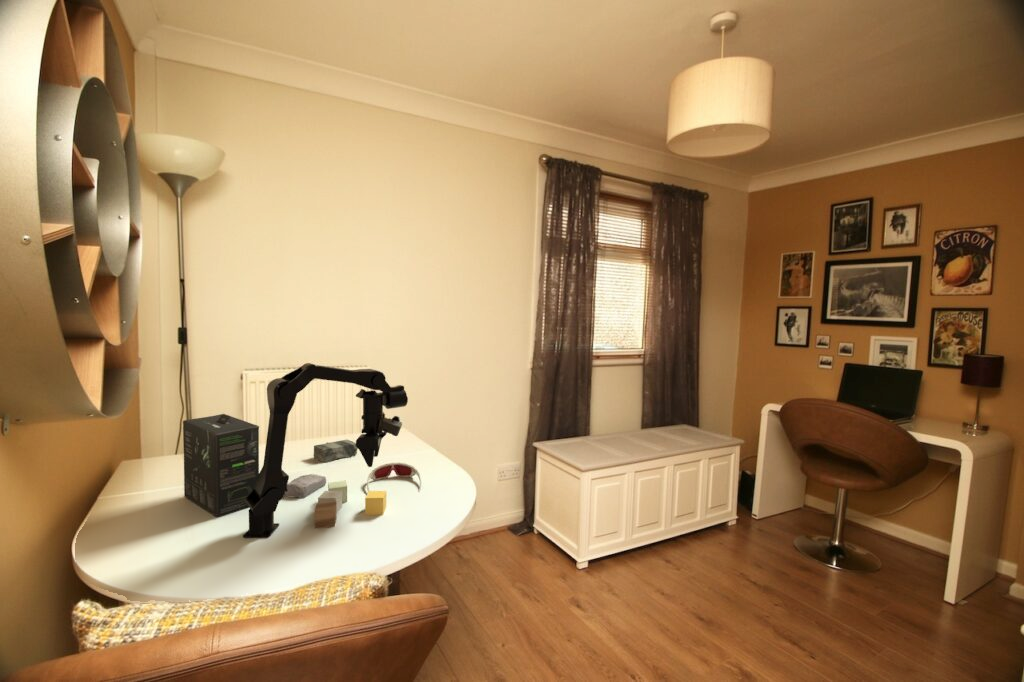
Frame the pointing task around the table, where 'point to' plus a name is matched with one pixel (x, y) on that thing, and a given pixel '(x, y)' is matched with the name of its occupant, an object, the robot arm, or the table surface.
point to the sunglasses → (399, 469)
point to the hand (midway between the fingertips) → (373, 461)
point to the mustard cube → (375, 503)
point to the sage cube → (339, 488)
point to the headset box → (220, 462)
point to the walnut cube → (325, 514)
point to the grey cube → (332, 498)
